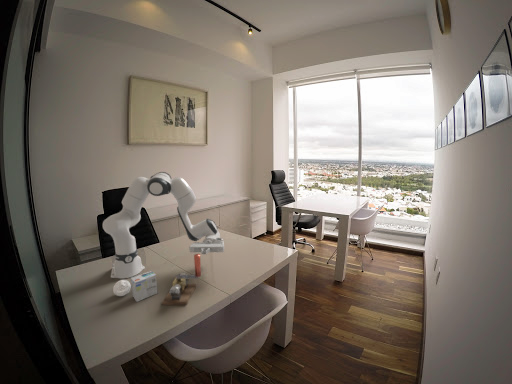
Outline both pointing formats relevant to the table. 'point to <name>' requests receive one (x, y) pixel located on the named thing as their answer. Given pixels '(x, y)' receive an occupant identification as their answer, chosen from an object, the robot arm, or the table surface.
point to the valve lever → (197, 269)
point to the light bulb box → (144, 285)
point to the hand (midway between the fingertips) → (204, 253)
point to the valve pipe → (178, 287)
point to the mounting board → (184, 296)
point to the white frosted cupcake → (121, 287)
